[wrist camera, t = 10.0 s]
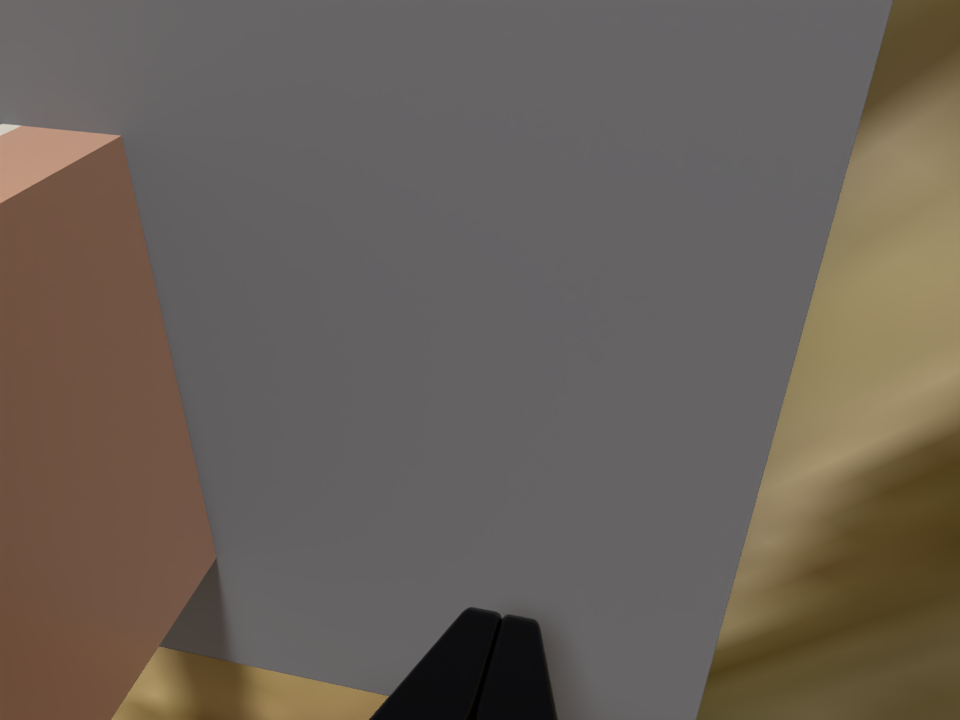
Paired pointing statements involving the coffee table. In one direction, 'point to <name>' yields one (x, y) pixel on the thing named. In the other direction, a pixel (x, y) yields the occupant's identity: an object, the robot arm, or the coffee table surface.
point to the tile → (85, 435)
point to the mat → (470, 304)
